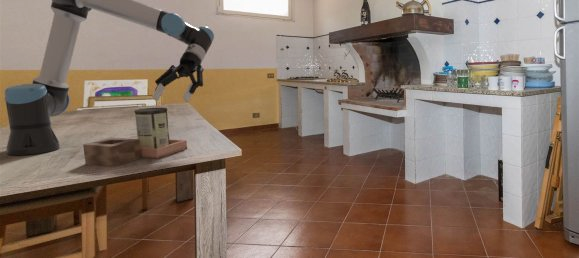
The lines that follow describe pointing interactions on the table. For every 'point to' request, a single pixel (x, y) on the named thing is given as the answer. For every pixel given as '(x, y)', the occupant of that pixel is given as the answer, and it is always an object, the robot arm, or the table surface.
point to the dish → (164, 149)
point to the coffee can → (152, 127)
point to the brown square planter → (112, 151)
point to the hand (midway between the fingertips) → (169, 99)
